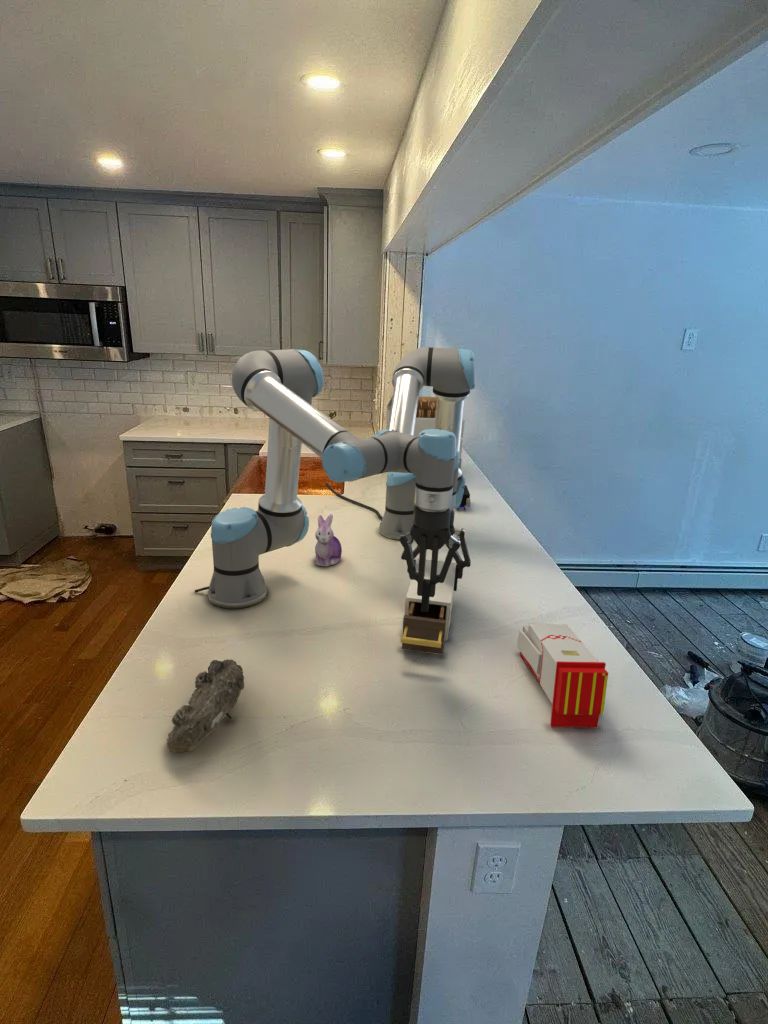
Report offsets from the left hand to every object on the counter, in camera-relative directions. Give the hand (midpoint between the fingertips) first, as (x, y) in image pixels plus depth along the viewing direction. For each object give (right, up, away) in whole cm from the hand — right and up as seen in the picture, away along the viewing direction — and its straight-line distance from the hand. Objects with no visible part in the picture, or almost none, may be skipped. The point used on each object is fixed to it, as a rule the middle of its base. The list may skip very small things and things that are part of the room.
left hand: (424, 608), depth 123 cm
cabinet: (+3, -6, +24) cm, 25 cm away
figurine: (-26, +6, +53) cm, 59 cm away
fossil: (-42, -18, -15) cm, 48 cm away
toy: (+27, -16, -1) cm, 32 cm away
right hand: (+4, +1, +28) cm, 28 cm away
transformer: (+8, +40, +152) cm, 157 cm away
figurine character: (+22, +23, +107) cm, 112 cm away
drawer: (+1, -9, +14) cm, 16 cm away
